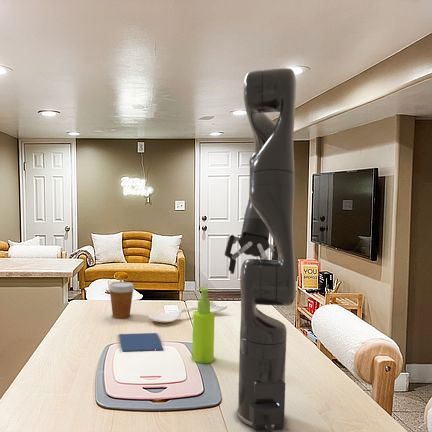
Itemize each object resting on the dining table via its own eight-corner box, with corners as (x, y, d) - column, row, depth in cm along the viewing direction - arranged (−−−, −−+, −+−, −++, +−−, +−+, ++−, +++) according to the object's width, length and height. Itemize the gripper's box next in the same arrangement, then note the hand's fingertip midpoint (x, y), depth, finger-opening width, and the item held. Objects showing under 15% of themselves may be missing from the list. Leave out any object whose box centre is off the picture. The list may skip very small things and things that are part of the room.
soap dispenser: (210, 353, 125) (212, 285, 123) (215, 363, 118) (216, 291, 116) (190, 353, 124) (191, 285, 123) (194, 363, 117) (195, 291, 116)
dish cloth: (163, 350, 127) (163, 348, 127) (122, 351, 125) (122, 350, 125) (156, 334, 141) (156, 333, 141) (119, 335, 139) (119, 334, 139)
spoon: (227, 314, 164) (228, 305, 163) (157, 327, 147) (157, 317, 147) (212, 308, 171) (212, 300, 171) (143, 320, 155) (143, 311, 154)
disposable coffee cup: (104, 314, 163) (104, 282, 162) (128, 311, 167) (128, 280, 166) (113, 321, 154) (114, 288, 153) (138, 318, 158) (138, 285, 157)
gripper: (234, 212, 117) (223, 270, 115) (287, 223, 116) (276, 282, 114) (230, 217, 125) (219, 272, 122) (279, 227, 124) (269, 283, 121)
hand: (247, 277), depth 118 cm, fingers open, 8 cm apart
